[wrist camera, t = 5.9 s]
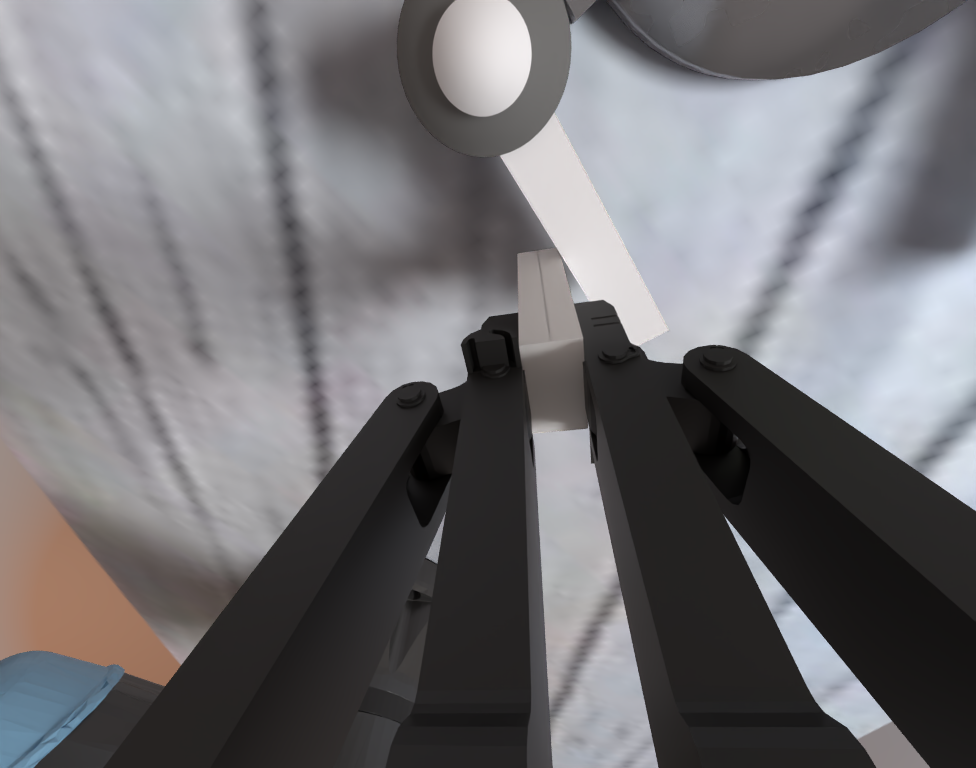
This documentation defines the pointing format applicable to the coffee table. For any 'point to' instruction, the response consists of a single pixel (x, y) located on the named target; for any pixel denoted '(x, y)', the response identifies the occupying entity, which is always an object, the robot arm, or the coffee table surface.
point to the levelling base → (771, 31)
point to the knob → (520, 128)
